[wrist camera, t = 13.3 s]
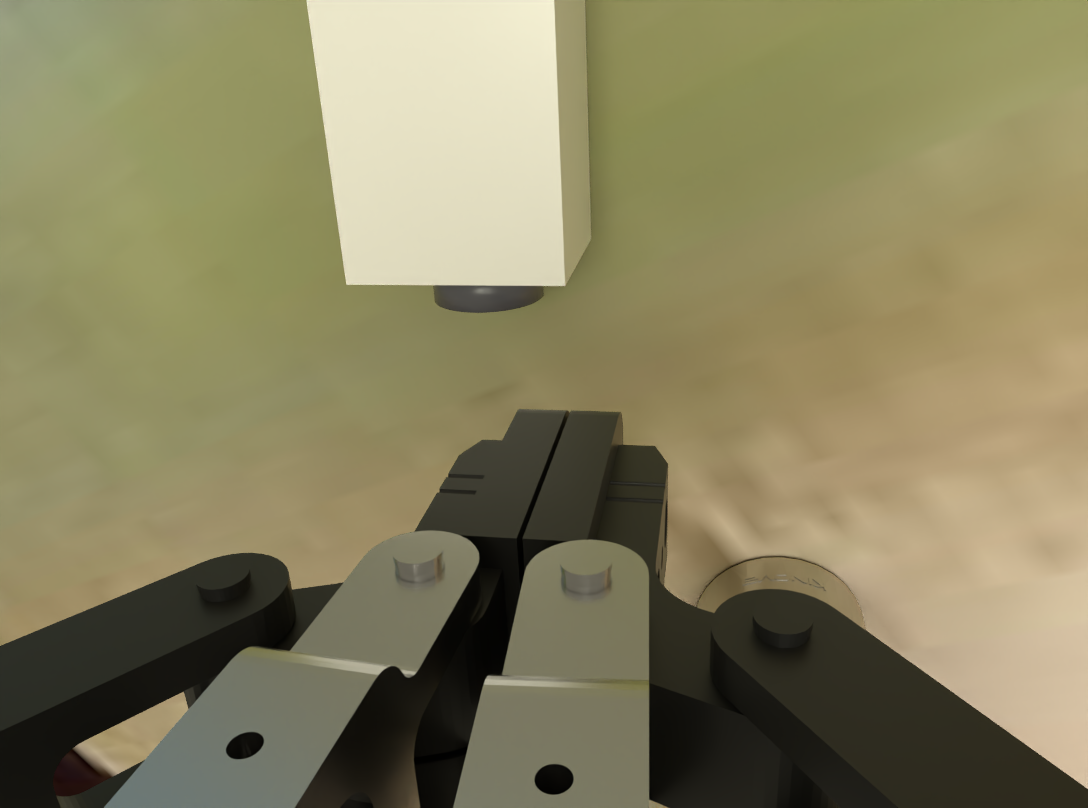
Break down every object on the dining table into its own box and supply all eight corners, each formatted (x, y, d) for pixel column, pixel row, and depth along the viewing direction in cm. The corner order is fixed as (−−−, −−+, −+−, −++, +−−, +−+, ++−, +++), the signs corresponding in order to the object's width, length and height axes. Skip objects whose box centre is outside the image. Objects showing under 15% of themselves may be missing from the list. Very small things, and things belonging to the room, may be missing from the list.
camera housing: (592, 271, 44) (563, 329, 36) (409, 270, 46) (344, 326, 38) (578, -262, 35) (536, -339, 27) (354, -238, 37) (253, -303, 29)
